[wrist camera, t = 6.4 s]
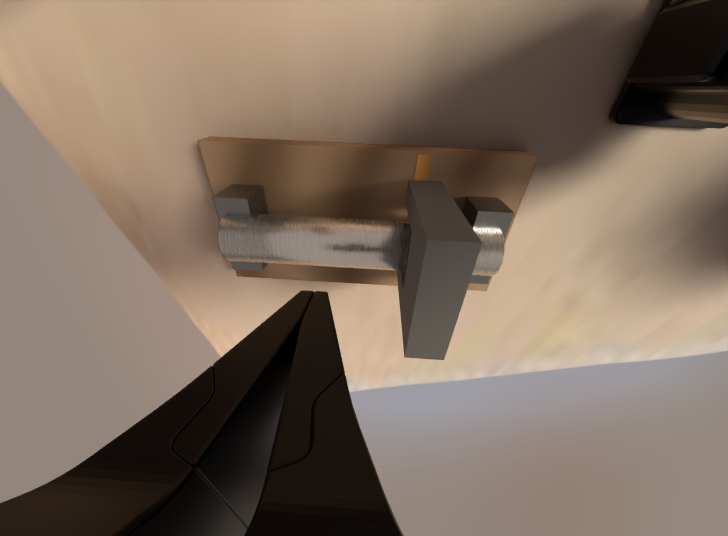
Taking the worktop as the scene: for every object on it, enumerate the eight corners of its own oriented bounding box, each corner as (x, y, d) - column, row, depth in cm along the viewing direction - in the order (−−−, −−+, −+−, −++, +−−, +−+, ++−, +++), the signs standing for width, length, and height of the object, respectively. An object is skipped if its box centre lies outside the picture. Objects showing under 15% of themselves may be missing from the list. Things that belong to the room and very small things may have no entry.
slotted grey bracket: (441, 181, 16) (482, 243, 10) (423, 272, 20) (443, 360, 13) (408, 179, 16) (427, 239, 10) (396, 271, 20) (404, 357, 13)
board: (526, 151, 16) (539, 156, 15) (480, 279, 22) (487, 291, 21) (210, 136, 17) (196, 140, 16) (245, 265, 22) (236, 276, 21)
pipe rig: (498, 197, 17) (528, 225, 13) (476, 263, 19) (496, 300, 16) (232, 184, 17) (195, 207, 14) (249, 250, 20) (222, 283, 16)
